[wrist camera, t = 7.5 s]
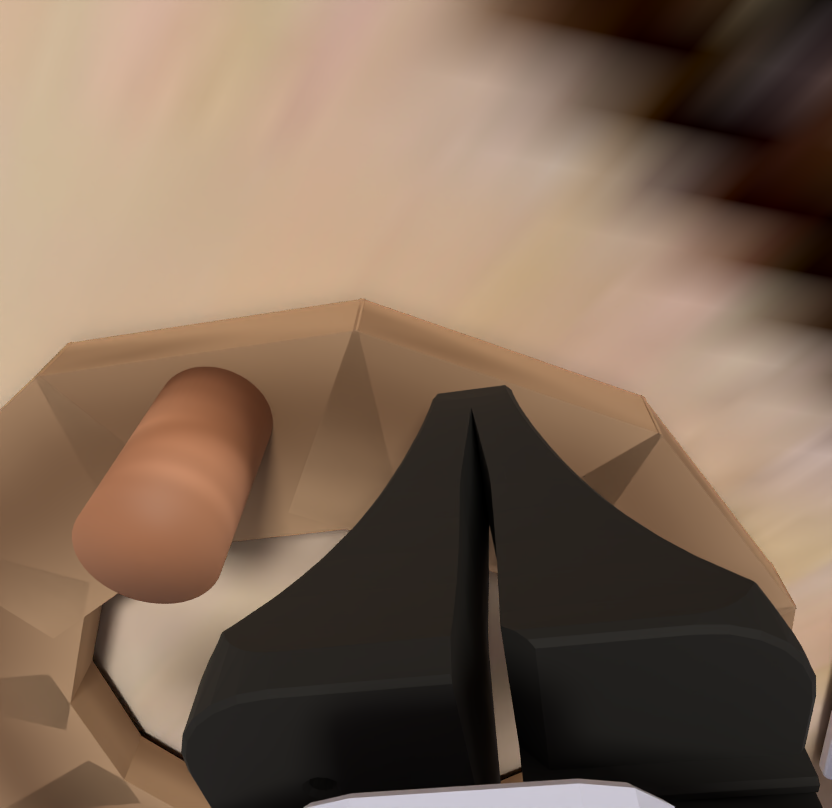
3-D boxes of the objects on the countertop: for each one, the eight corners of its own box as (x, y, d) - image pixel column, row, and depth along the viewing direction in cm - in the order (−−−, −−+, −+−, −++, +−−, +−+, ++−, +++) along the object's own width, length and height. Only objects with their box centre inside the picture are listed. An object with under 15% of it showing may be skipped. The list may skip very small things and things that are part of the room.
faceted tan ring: (818, 229, 14) (1016, 365, 9) (731, 857, 27) (793, 1045, 22) (-288, 395, 16) (-575, 563, 12) (124, 888, 29) (65, 1060, 25)
